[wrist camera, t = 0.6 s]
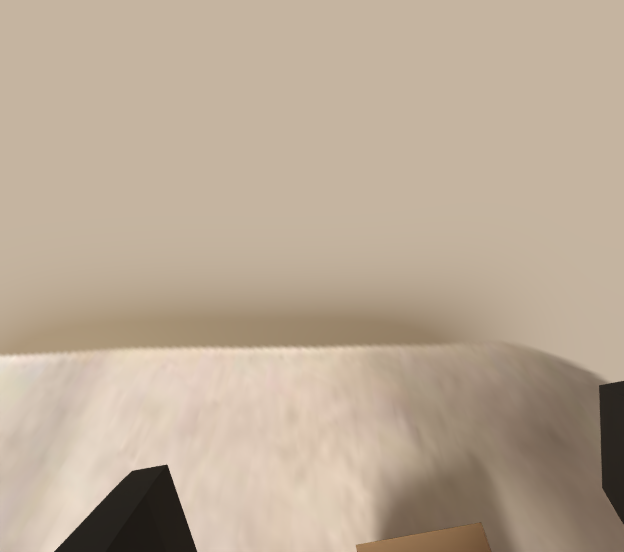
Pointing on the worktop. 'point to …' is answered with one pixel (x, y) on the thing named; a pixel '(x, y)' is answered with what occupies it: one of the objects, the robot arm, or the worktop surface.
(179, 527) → the robot arm
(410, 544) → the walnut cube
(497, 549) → the worktop surface
